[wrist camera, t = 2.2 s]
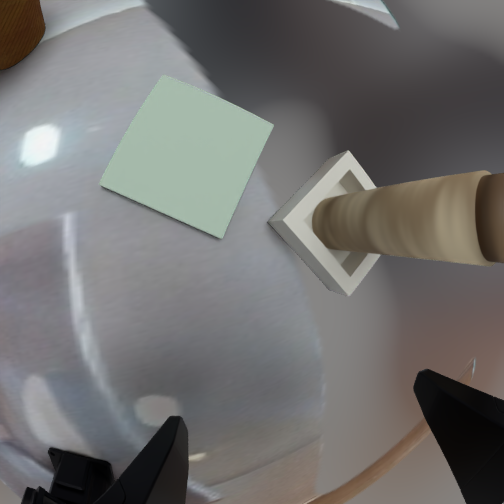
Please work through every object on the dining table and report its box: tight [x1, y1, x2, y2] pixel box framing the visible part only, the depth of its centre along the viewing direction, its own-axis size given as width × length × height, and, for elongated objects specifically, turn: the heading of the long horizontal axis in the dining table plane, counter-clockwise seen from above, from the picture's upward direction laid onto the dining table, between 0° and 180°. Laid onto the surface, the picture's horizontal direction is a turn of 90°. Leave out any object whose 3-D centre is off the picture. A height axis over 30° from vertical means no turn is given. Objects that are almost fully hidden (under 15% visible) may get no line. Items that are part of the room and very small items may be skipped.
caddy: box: [268, 151, 381, 297], centre depth 20 cm, size 7×7×3 cm
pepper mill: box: [312, 170, 504, 266], centre depth 13 cm, size 4×4×15 cm
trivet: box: [99, 75, 274, 239], centre depth 17 cm, size 9×9×1 cm
